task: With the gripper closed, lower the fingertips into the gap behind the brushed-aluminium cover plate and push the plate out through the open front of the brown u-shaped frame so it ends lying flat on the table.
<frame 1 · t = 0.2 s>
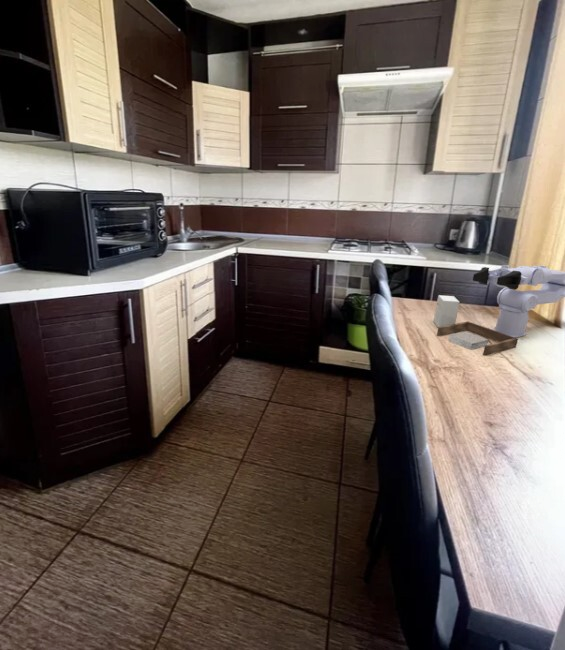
hand: (485, 279, 106), 21 cm above the table, tool horizontal, fingers open, 7 cm apart
small box: (443, 325, 128), on the table
cover plate: (467, 344, 112), on the table
brown u-shaped frame: (473, 341, 113), on the table
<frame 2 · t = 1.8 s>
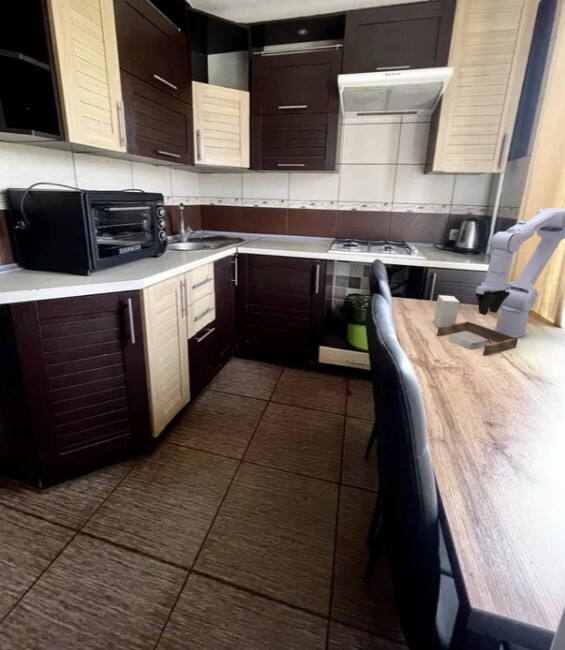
hand: (487, 313, 112), 9 cm above the table, tool pointing down, fingers open, 5 cm apart
nothing on the table moved.
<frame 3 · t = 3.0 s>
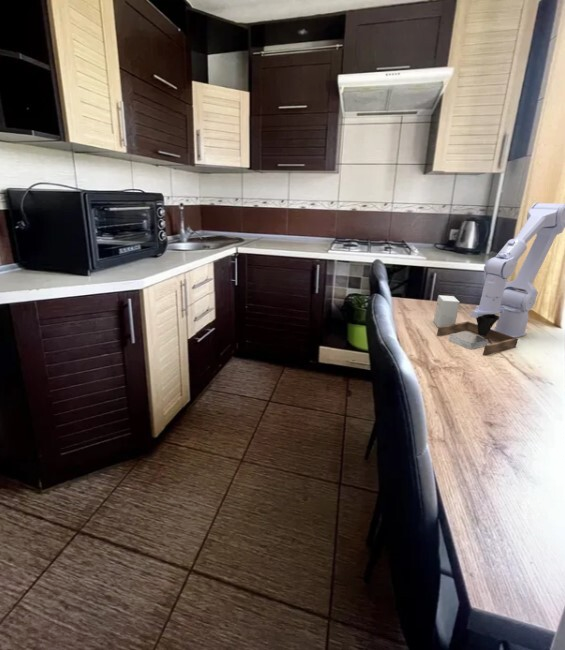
hand: (482, 335, 115), 2 cm above the table, tool pointing down, fingers closed
nothing on the table moved.
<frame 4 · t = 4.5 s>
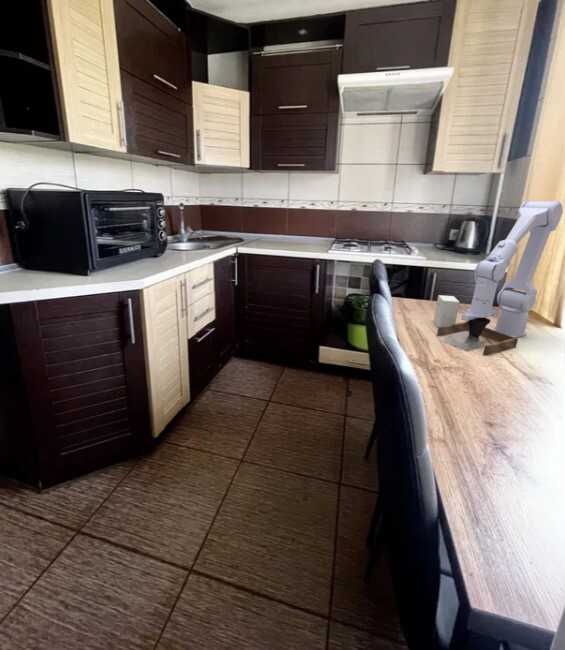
hand: (473, 338, 113), 1 cm above the table, tool pointing down, fingers closed
cover plate: (463, 345, 111), on the table, touching gripper
everything else where it was.
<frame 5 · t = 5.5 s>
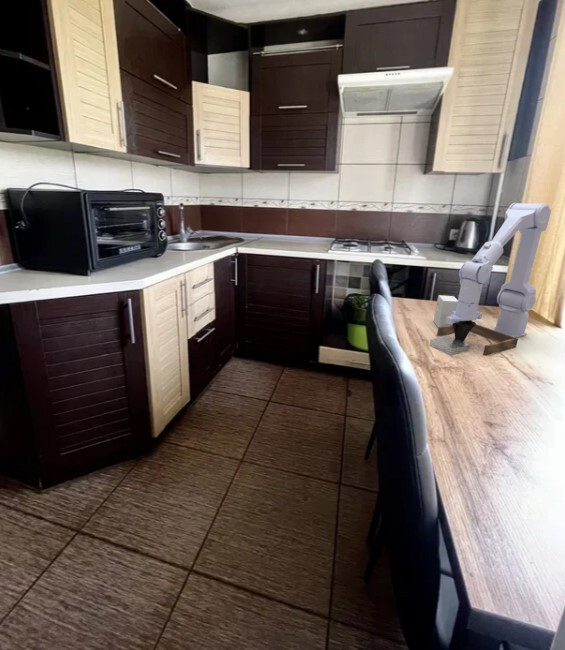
hand: (458, 342, 110), 1 cm above the table, tool pointing down, fingers closed
cover plate: (448, 349, 108), on the table, touching gripper
everything else where it was.
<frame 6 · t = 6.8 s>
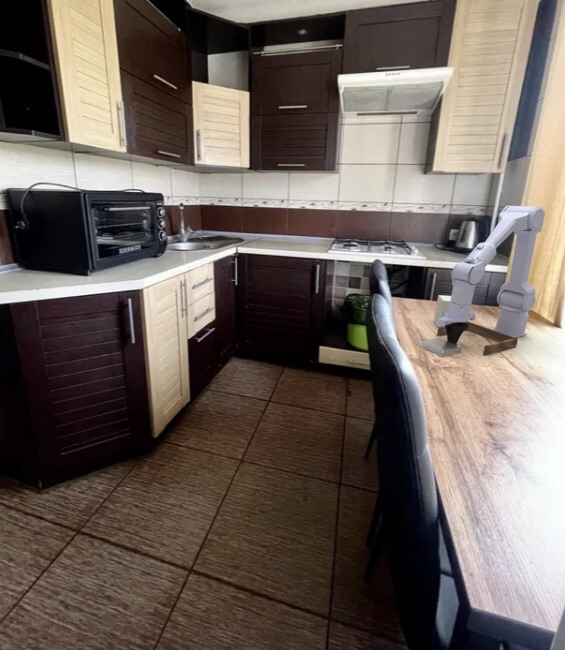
hand: (451, 344, 108), 1 cm above the table, tool pointing down, fingers closed
cover plate: (440, 351, 107), on the table
everything else where it was.
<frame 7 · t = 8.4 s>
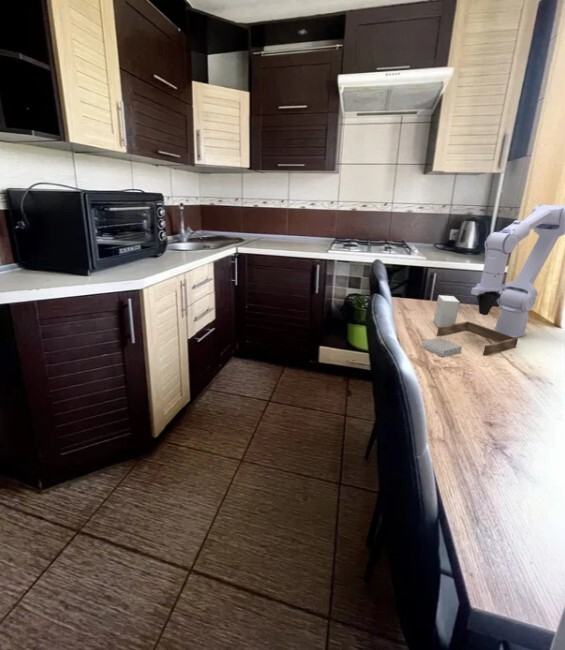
hand: (483, 314, 111), 9 cm above the table, tool pointing down, fingers closed
nothing on the table moved.
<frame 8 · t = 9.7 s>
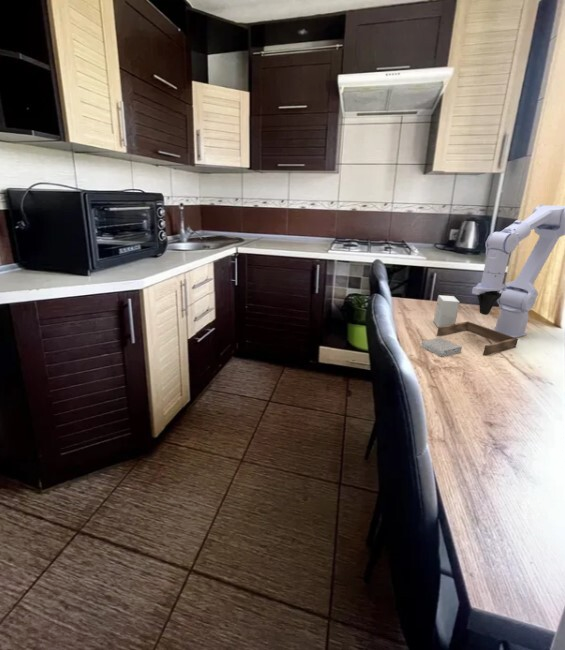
hand: (483, 313, 111), 9 cm above the table, tool pointing down, fingers closed
nothing on the table moved.
at the end: cover plate inside the target area (1.5 cm from its centre), on the table; cover plate tilted 0°; cover plate touching table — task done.
